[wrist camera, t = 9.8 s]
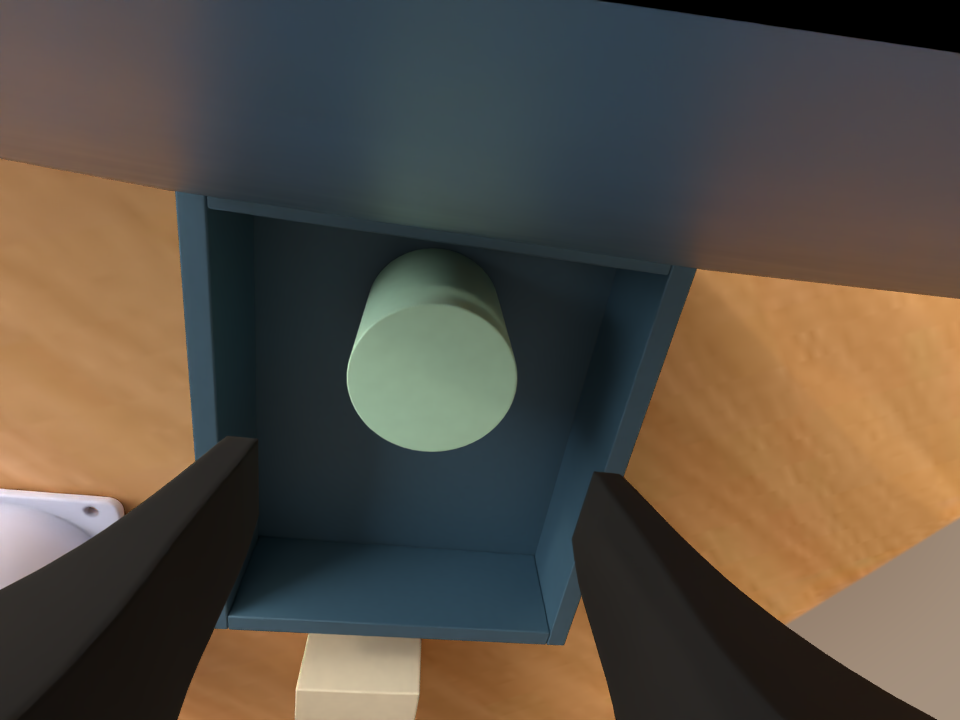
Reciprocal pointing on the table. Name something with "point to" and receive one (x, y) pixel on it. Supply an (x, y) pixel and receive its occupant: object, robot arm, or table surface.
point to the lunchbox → (394, 469)
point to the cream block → (358, 678)
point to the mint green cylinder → (432, 354)
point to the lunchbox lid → (527, 120)
